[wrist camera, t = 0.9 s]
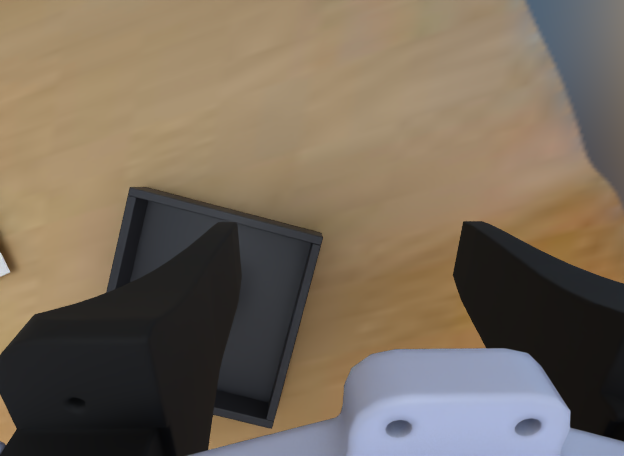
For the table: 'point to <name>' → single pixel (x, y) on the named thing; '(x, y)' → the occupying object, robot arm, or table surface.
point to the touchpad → (3, 266)
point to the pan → (253, 292)
